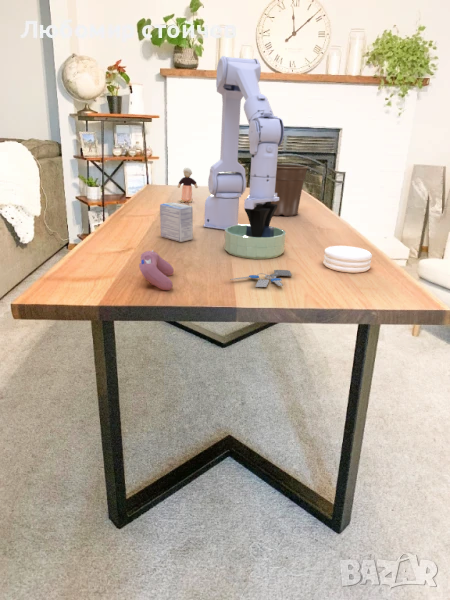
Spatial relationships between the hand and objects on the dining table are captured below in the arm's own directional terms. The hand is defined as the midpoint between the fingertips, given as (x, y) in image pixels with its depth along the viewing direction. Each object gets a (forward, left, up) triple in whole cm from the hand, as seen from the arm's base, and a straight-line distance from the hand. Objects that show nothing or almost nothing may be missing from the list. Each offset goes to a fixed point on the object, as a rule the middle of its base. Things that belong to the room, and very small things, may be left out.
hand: (259, 235), depth 104 cm
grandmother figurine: (-52, +52, -4) cm, 74 cm away
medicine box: (-23, 0, -4) cm, 23 cm away
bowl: (-1, 0, -4) cm, 4 cm away
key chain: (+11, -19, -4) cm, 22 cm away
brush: (0, 0, -3) cm, 3 cm away
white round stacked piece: (+21, 0, -4) cm, 21 cm away
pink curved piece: (-7, -31, -4) cm, 32 cm away
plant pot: (-14, +52, -4) cm, 54 cm away
